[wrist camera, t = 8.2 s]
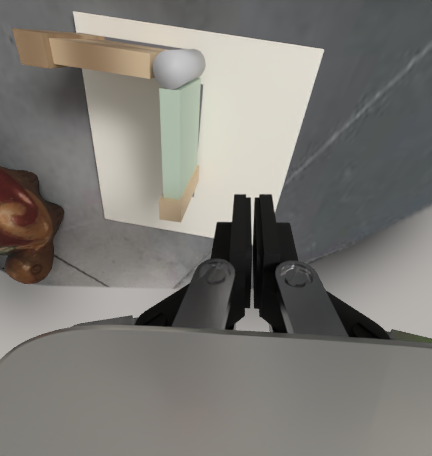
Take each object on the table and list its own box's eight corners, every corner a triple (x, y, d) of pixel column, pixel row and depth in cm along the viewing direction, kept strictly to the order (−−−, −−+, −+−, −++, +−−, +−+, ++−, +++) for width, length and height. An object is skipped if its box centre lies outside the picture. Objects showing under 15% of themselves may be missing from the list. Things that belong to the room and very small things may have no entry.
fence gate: (181, 47, 19) (148, 48, 13) (206, 50, 19) (184, 52, 13) (180, 179, 25) (158, 219, 19) (199, 181, 25) (182, 222, 19)
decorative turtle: (58, 256, 35) (6, 302, 28) (-42, 155, 29) (-138, 184, 22) (106, 232, 30) (58, 280, 24) (0, 109, 25) (-102, 128, 18)
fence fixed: (87, 58, 20) (21, 64, 15) (84, 33, 19) (12, 28, 14) (178, 73, 20) (147, 84, 14) (179, 48, 19) (146, 49, 13)
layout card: (107, 215, 30) (104, 219, 29) (77, 12, 19) (72, 11, 19) (264, 243, 29) (264, 247, 28) (322, 49, 19) (324, 49, 18)
